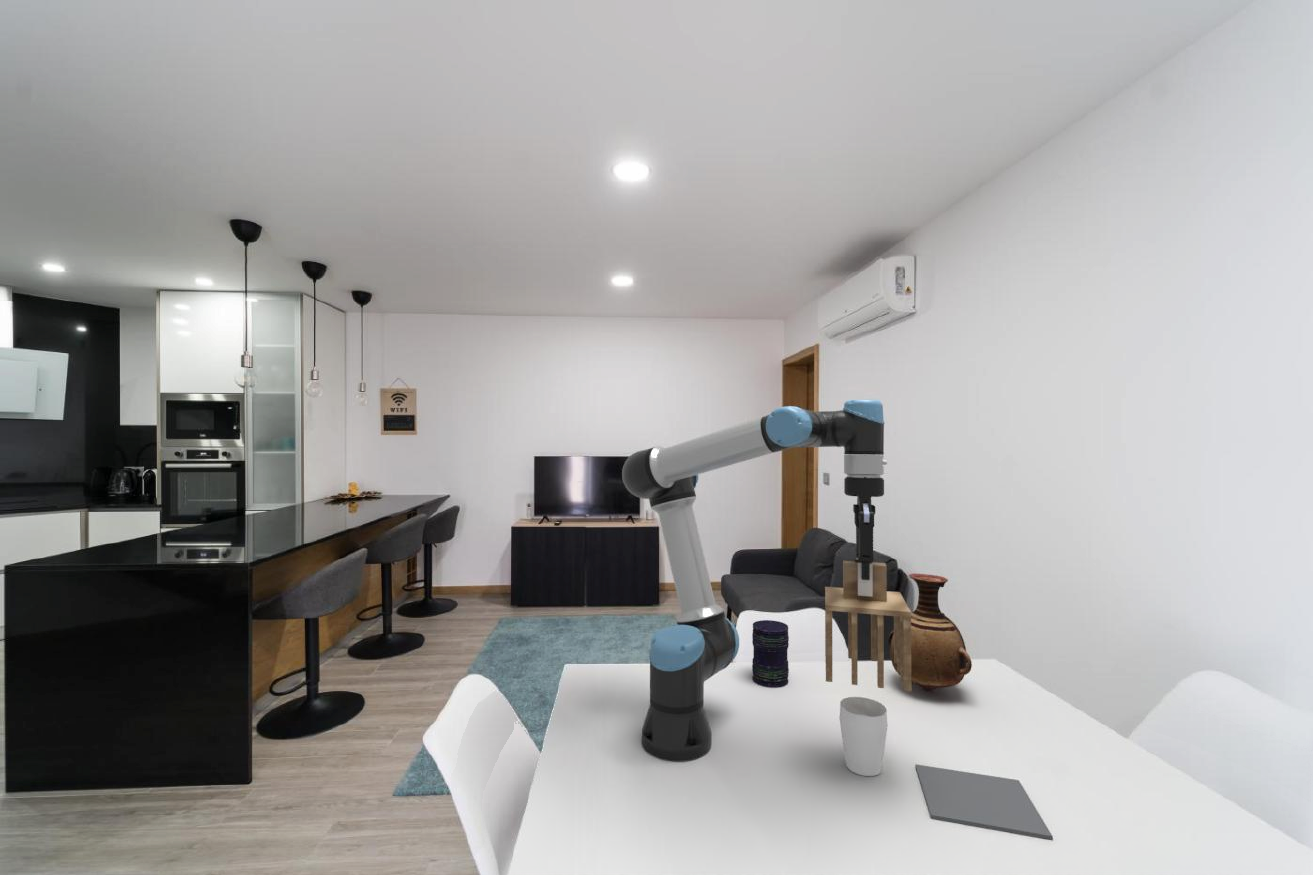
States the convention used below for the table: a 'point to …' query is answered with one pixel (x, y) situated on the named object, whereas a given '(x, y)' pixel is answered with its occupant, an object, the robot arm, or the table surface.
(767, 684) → the dark blue cylinder
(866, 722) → the cup
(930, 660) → the vase
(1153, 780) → the table surface
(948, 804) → the mat
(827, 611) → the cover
